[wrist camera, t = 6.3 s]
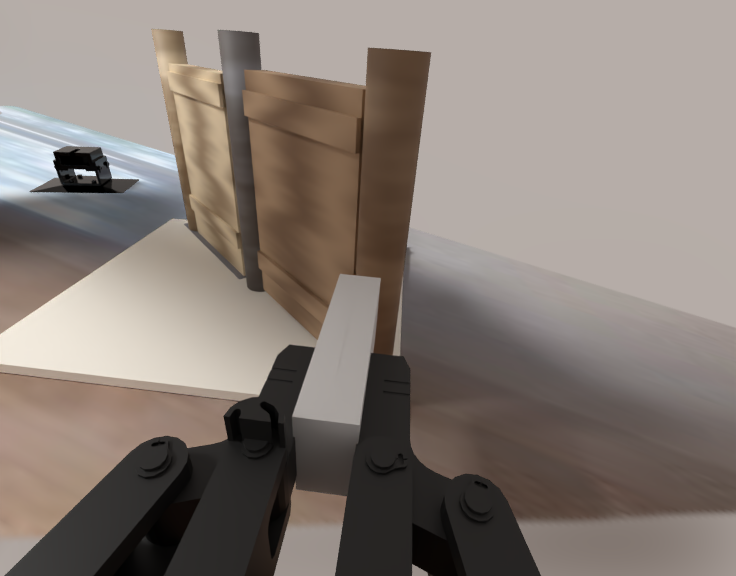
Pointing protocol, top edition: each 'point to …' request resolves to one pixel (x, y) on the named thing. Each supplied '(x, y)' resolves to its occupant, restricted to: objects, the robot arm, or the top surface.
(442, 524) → the robot arm
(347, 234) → the panel
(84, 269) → the top surface
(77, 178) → the black blocky piece
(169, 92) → the fixed fence section
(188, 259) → the card
